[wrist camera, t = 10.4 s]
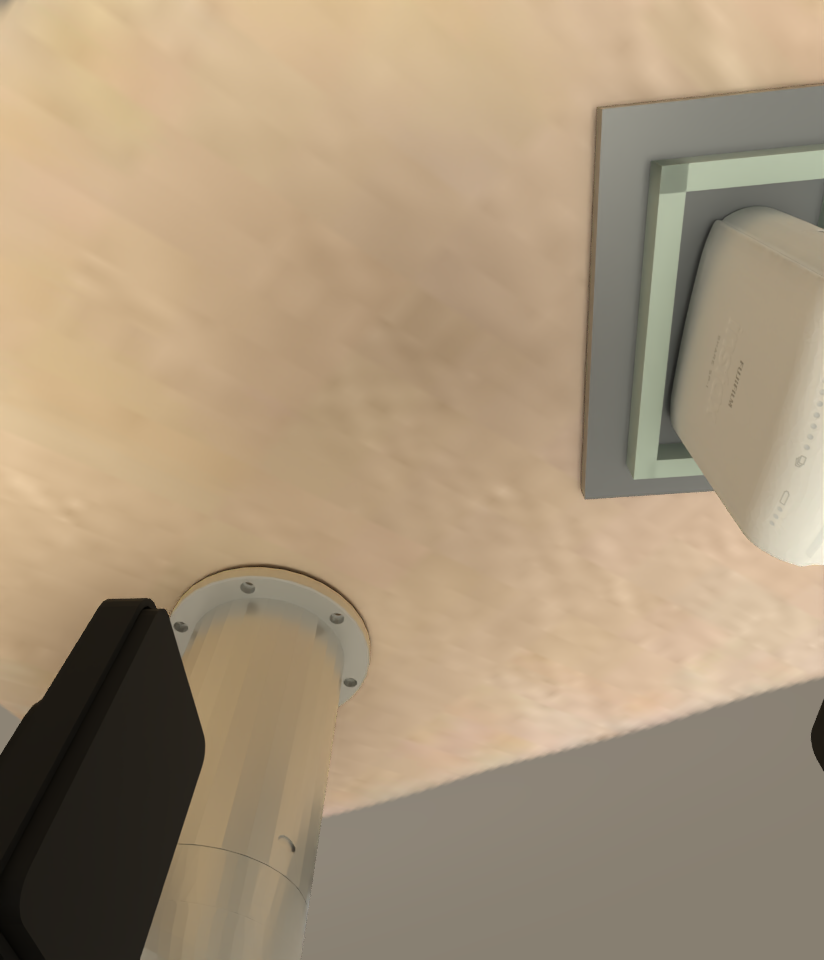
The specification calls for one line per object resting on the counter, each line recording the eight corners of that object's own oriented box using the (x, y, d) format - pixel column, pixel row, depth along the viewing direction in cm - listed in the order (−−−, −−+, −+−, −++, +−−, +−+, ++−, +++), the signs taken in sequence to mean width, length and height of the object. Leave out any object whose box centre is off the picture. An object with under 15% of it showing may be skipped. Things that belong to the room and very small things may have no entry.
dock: (813, 473, 35) (838, 500, 33) (581, 489, 36) (590, 515, 34) (915, 73, 26) (958, 75, 24) (596, 107, 27) (611, 111, 25)
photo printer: (703, 201, 28) (870, 290, 17) (810, 202, 27) (1044, 292, 17) (654, 426, 33) (758, 598, 22) (743, 427, 33) (889, 600, 22)
